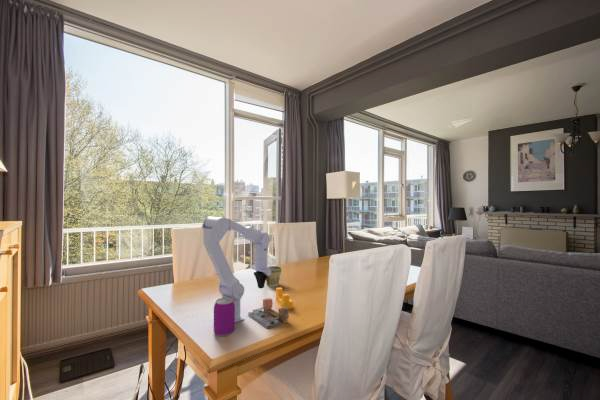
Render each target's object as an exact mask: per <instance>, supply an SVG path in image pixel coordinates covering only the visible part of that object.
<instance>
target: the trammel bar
mask: <svg viewBox="0 0 600 400" xmlns="http://www.w3.org/2000/svg"><path fill="white" fill-rule="evenodd" d="M263 311H264V312H265V313H267V314H269V315H270V316H272V317H273V318H272V319H269V320H267V321H268V322H269V321H272V320H276V319H277V320H278V321H280V322H281V323H280V324H286V323H288V319H289V316H290V315H289V314H290V312H289V308H287V307H284V308H282V307H280V308H278V312H277V311H276V310H274V309H273V308H271V309H267V310H264V309H263Z"/></svg>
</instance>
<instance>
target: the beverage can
mask: <svg viewBox="0 0 600 400" xmlns="http://www.w3.org/2000/svg"><path fill="white" fill-rule="evenodd" d="M235 323H236V322H235V305H234V302H233V299H231V298H223V297H221V298H218V299H216V300H215V303H214V306H213V333H214V334H216V336H219V337H226V336H229V335H231V334H232V333H233V332H234V331H235Z"/></svg>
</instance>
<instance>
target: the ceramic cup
mask: <svg viewBox="0 0 600 400" xmlns="http://www.w3.org/2000/svg"><path fill="white" fill-rule="evenodd" d="M267 266H268V265H267ZM268 267H269V270H271V275H268V276H267V278H266V281H265V283H266V286H267V287H270V288H275V287H276V288H277V287H278V286H279V283H280V279H281V274H282V267H281V266H277V265H269V266H268Z"/></svg>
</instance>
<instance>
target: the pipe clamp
mask: <svg viewBox="0 0 600 400" xmlns="http://www.w3.org/2000/svg"><path fill="white" fill-rule="evenodd" d="M275 289H276V290H275V292H276V295H275V301H276V302H277V304H279V305H280V308H284V307H287V308H289V309H290V310H291V309H293V308H294V301H293V300H292V299H291V298H290V294H289V293H284V291H283V288H282V287H276V288H275Z"/></svg>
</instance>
